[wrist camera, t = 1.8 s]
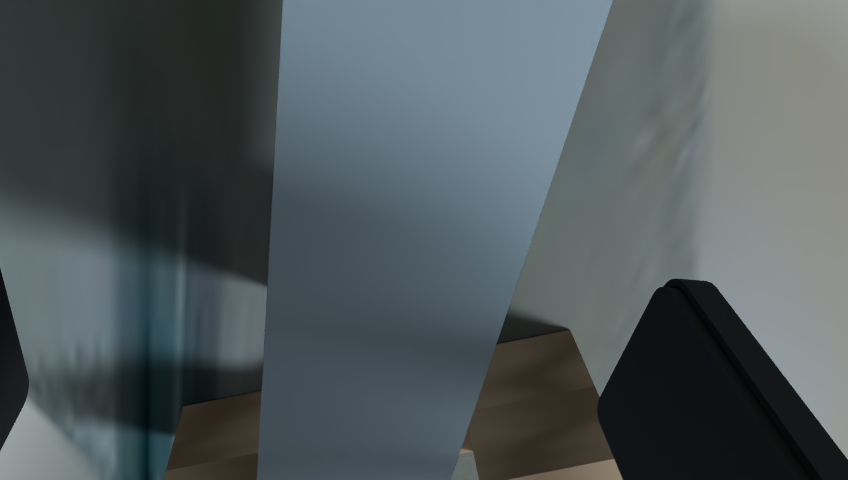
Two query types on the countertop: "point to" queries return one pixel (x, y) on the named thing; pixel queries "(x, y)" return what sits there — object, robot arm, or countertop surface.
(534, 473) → the brown wooden u-shaped block
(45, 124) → the countertop surface
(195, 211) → the countertop surface
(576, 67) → the light blue flat board
